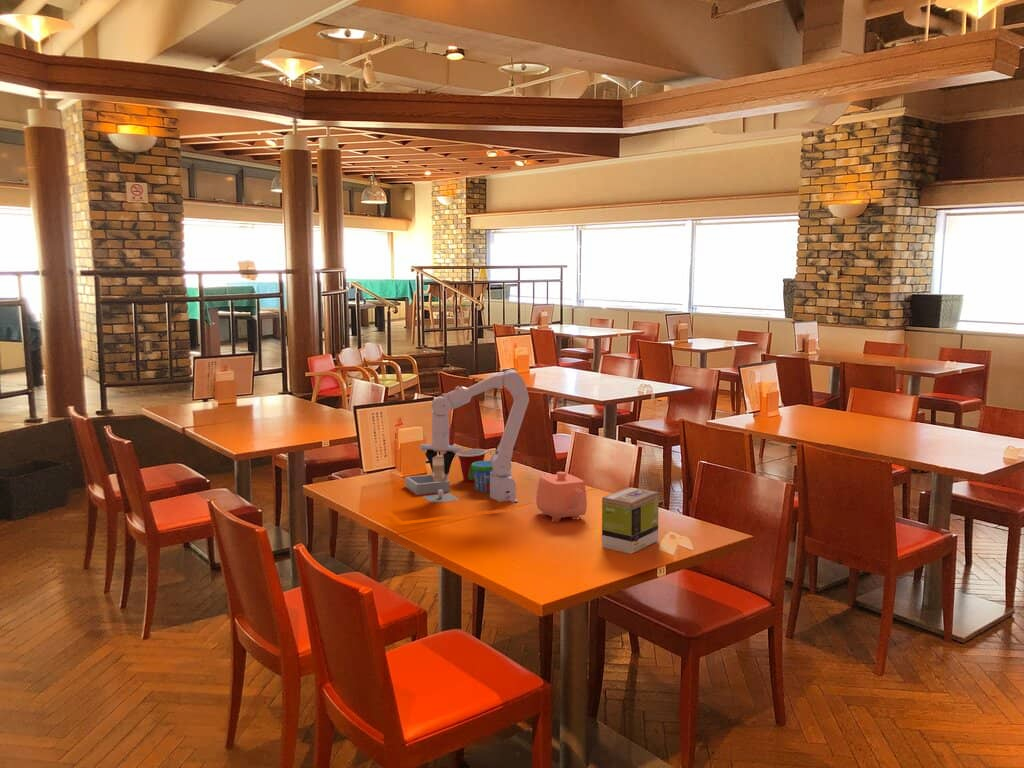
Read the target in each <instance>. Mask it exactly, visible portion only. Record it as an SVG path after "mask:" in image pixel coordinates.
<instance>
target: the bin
mask: <svg viewBox="0 0 1024 768" xmlns="http://www.w3.org/2000/svg"><path fill="white" fill-rule="evenodd" d="M404 487H405V488H406V489H408V490H409V491H410V492H412V493H413V494H415V495H417V496H419V495H430V494H438V490H443V492H444V493H448V492H450V480H449V479H448V480H447V481H445V482H436V481H433V473H430V474H423V475H420V474H419V475H413V476H410V475H409V476H405V477H404Z"/></svg>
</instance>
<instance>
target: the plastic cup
mask: <svg viewBox="0 0 1024 768" xmlns="http://www.w3.org/2000/svg"><path fill="white" fill-rule="evenodd" d="M486 454H487V449H482V448H468V449H467V448H466V449H462V453H460V454H458V453H456V455H457V457H458V459H459V462H460V470H461V474H462V479H463V482H465V483H470V484H471V483H472V484H473V483H475V479H472V480H470V479H469V477H468V474H469V468H470V466H471V465H472V463H474V462H478V461H485V456H486ZM473 475H474V472H473Z"/></svg>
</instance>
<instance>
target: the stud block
mask: <svg viewBox="0 0 1024 768" xmlns="http://www.w3.org/2000/svg"><path fill="white" fill-rule="evenodd" d="M421 497H422V498H423V499H425V500H427V501H428V502H429V503H431V504H435V503H436V504H437V503H445V502H454V501H461V499H459V498H458V497H456V496H455V495H453V494H452V493H450V492H443V490H438V493H432V494H423V495H421Z"/></svg>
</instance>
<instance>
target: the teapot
mask: <svg viewBox="0 0 1024 768" xmlns="http://www.w3.org/2000/svg"><path fill="white" fill-rule="evenodd" d="M586 489H587V488H586V483H585V481H584V480H583V479H581V478H579V477H577V476H574V475H572V474H570V473H567V472H565V471H557V472H556V474H555V473H554V474H552V473H546V474H544V475H539V476H538V481H537V489H536V497H535V499H536V501H535V502H536V507H537V509H538V510H539V511H540V512H542V513H541V515H542V516H544V515H549V516H550V517H551V521H552V520H553V521H552V522H554V521H559V520H561V518H562V519H563V518H571V519H572V518H575V519H574V520H578V519H577V518H580V519H581V517H580V516H584V515H586V513H587V508H588V507H587V505H588V504H587V503H588V502H587V490H586ZM549 516H548V517H549ZM559 522H560V521H559Z"/></svg>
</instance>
